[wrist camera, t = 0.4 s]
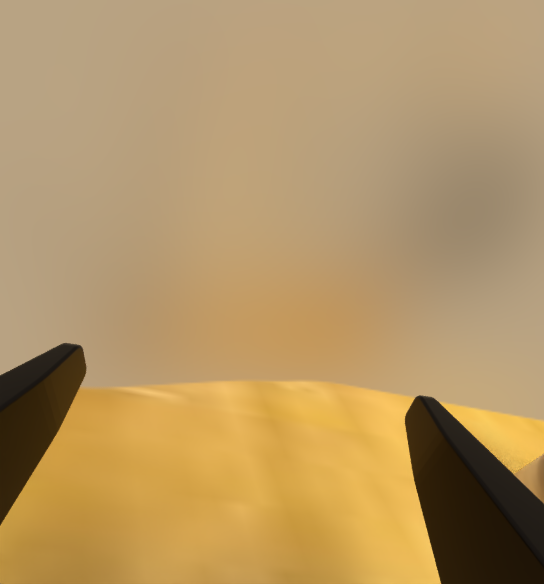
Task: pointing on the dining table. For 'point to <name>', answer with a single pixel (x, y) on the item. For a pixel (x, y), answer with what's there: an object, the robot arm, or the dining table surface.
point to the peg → (533, 477)
